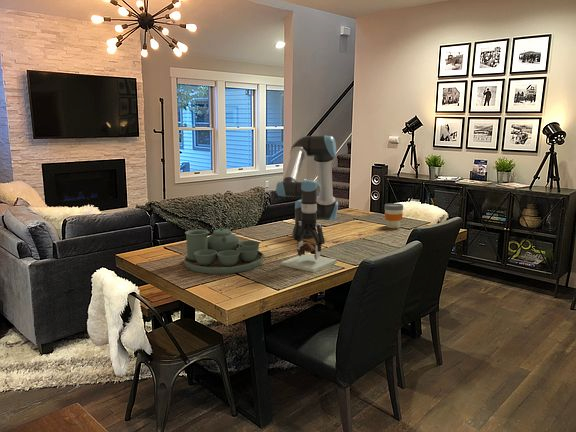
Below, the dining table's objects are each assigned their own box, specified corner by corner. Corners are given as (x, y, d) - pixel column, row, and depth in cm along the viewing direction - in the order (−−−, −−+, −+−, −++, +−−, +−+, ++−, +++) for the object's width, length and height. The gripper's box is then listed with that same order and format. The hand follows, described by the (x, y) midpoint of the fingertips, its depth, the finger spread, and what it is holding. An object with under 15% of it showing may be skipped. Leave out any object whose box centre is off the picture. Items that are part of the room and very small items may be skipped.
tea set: (207, 280, 208) (206, 245, 205) (172, 260, 240) (170, 229, 237) (279, 264, 231) (279, 232, 228) (238, 248, 263) (237, 220, 260)
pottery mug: (315, 262, 224) (307, 248, 222) (300, 267, 229) (292, 253, 228) (324, 250, 233) (316, 236, 232) (309, 255, 239) (301, 242, 237)
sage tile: (281, 265, 230) (281, 262, 229) (304, 256, 245) (304, 253, 245) (314, 272, 217) (314, 269, 217) (336, 262, 233) (336, 259, 233)
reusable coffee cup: (405, 225, 316) (406, 204, 313) (399, 229, 305) (399, 206, 303) (387, 223, 322) (388, 202, 320) (380, 227, 312) (381, 205, 309)
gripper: (286, 210, 230) (286, 254, 234) (323, 215, 217) (323, 261, 221) (295, 208, 236) (295, 250, 240) (332, 213, 222) (332, 257, 227)
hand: (309, 255), depth 230 cm, fingers closed on pottery mug, 10 cm apart
